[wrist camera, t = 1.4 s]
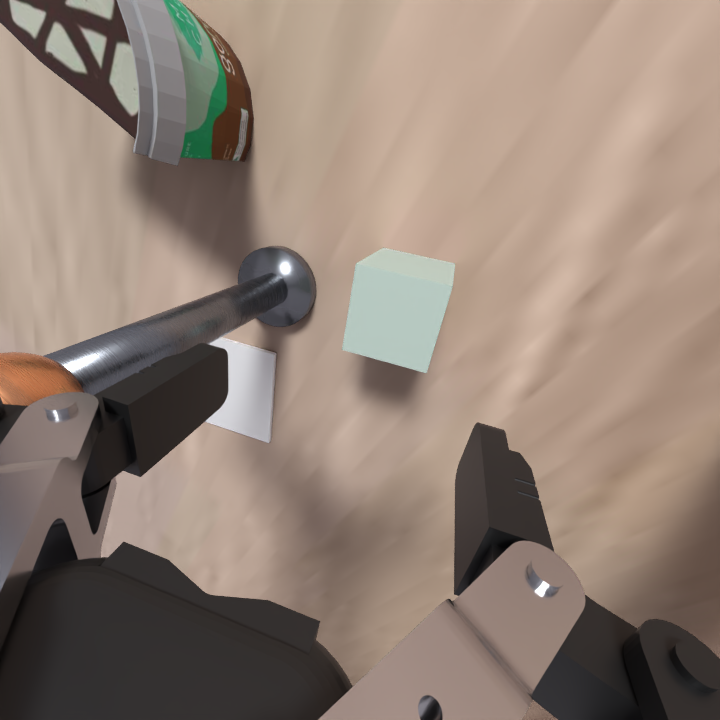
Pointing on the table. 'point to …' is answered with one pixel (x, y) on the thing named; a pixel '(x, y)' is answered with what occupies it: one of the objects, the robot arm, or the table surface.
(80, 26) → the food container
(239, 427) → the pad
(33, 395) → the metal post
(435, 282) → the green block
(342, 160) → the table surface
